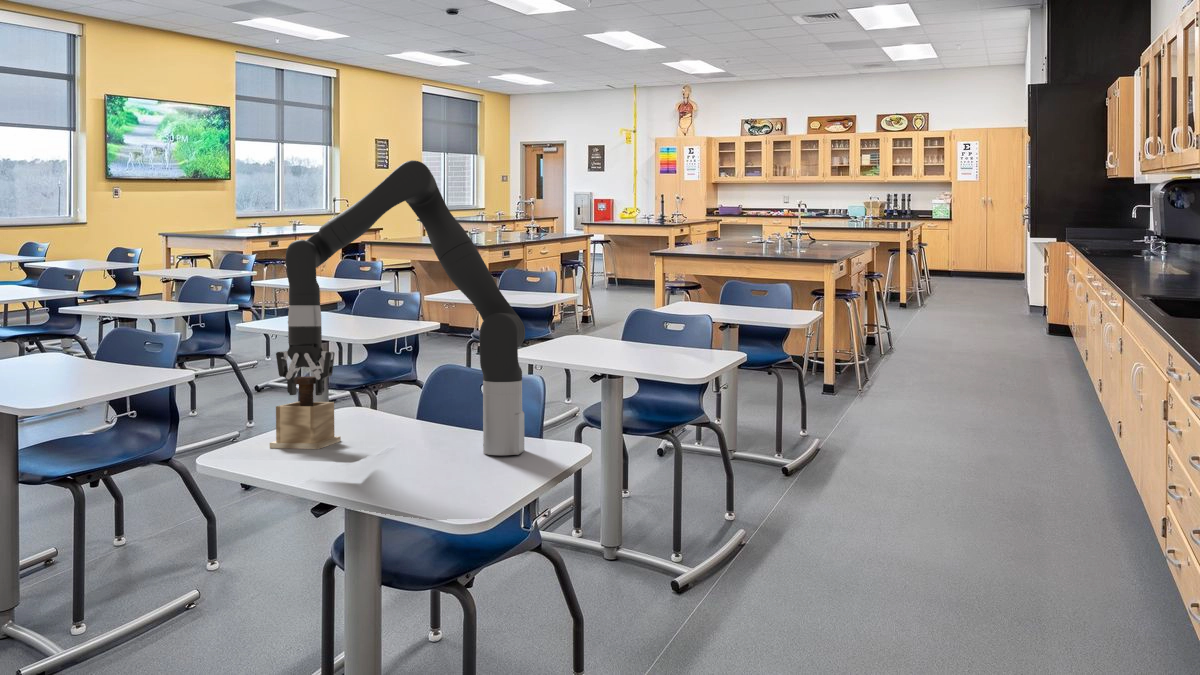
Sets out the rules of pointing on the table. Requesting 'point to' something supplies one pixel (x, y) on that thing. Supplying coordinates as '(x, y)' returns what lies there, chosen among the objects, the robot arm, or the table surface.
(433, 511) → the table surface
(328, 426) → the socket block
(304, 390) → the bolt
